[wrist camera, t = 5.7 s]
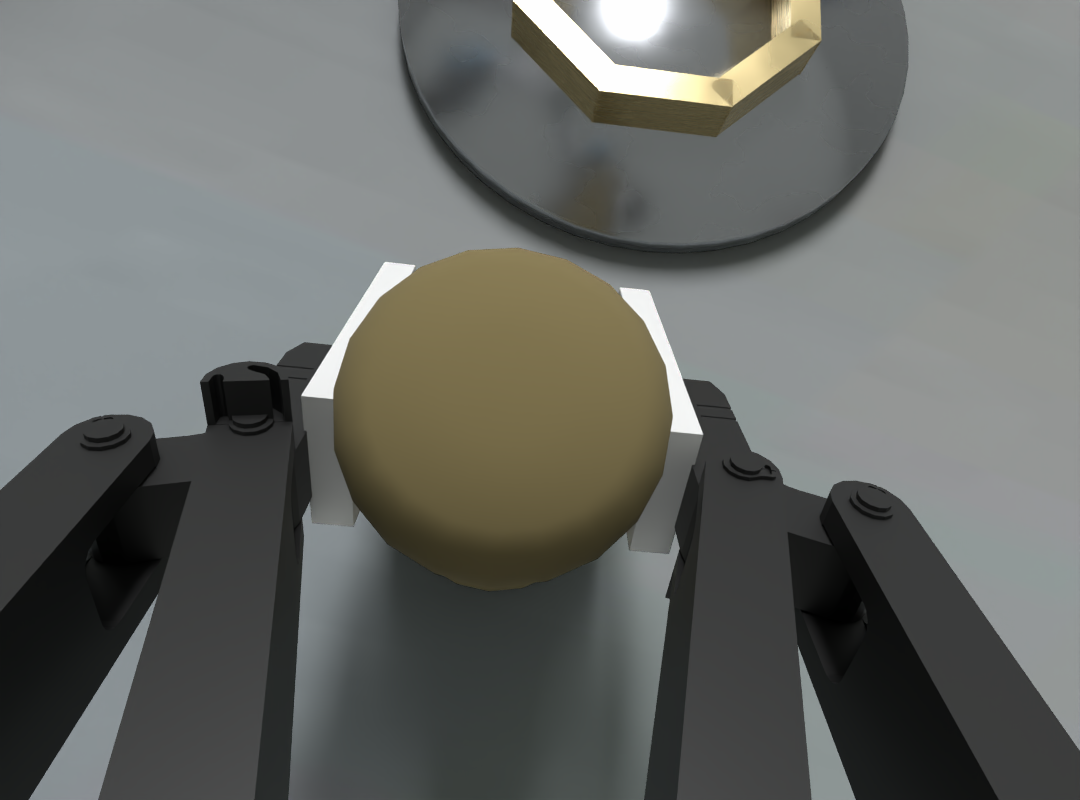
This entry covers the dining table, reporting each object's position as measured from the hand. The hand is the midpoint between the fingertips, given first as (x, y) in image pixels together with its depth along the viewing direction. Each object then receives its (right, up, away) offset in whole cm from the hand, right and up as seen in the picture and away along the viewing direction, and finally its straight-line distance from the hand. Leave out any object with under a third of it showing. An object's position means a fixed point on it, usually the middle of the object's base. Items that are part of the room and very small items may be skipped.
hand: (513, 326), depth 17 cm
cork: (-1, -4, +3) cm, 5 cm away
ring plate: (+5, +12, +7) cm, 14 cm away
